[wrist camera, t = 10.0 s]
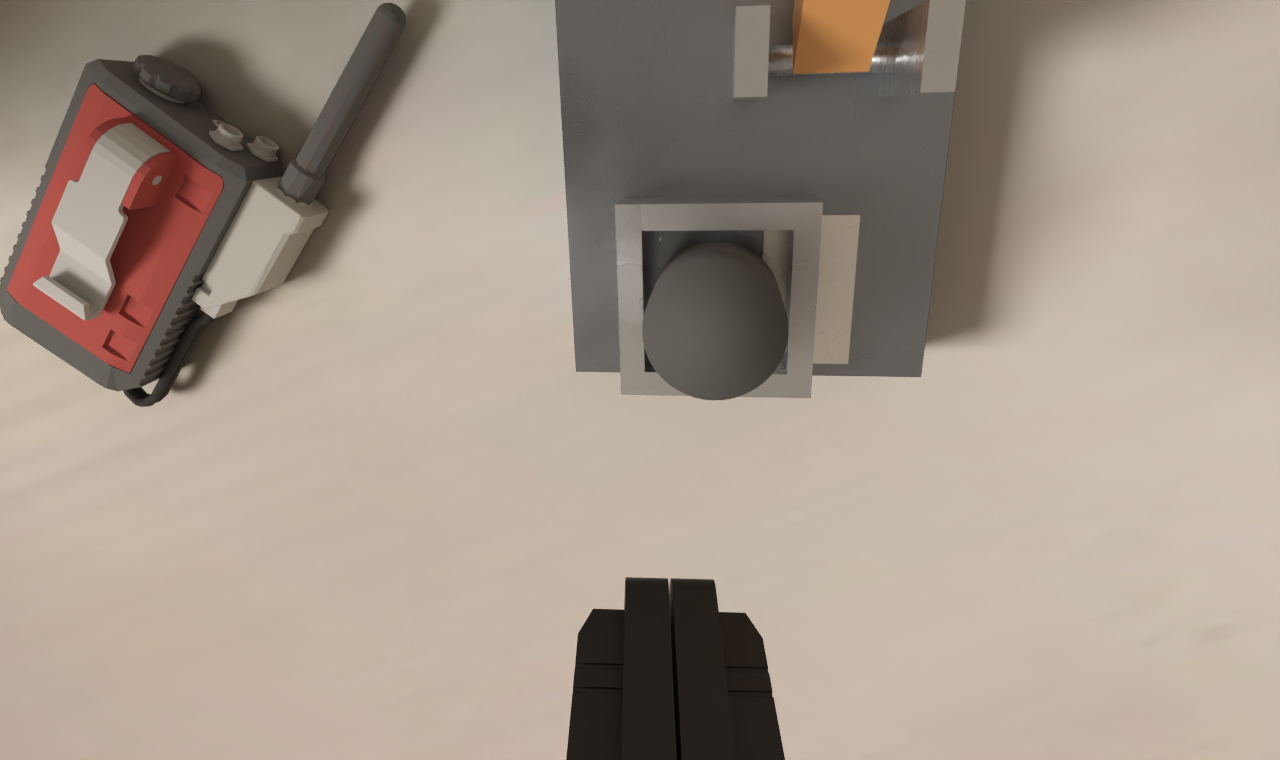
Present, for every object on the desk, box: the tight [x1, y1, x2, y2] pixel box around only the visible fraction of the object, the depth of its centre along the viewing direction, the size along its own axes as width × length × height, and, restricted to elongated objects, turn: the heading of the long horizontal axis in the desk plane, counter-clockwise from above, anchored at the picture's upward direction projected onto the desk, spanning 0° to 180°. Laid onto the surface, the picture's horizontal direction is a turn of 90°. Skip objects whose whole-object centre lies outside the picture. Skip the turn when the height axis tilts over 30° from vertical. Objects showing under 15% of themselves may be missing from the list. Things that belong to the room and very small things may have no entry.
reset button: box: [642, 241, 789, 400], centre depth 21 cm, size 4×4×3 cm
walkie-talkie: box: [0, 3, 406, 407], centre depth 27 cm, size 9×4×20 cm
